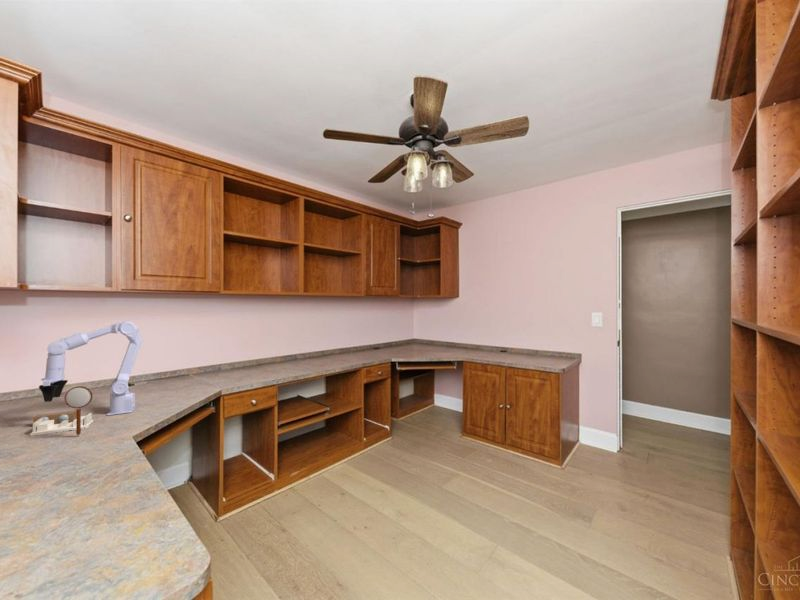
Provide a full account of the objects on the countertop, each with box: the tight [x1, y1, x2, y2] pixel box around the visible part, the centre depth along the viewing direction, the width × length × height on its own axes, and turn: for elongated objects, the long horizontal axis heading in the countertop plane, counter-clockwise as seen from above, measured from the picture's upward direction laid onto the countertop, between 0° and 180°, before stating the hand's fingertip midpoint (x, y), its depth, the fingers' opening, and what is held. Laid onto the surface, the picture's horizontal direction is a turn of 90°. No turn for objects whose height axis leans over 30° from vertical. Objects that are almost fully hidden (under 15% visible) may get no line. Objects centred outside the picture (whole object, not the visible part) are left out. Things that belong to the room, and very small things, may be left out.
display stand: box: [29, 412, 95, 437], centre depth 142 cm, size 17×9×4 cm, turn 117°
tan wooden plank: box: [32, 409, 77, 424], centre depth 148 cm, size 13×4×4 cm, turn 117°
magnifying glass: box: [64, 385, 93, 437], centre depth 134 cm, size 9×2×20 cm, turn 110°
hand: (52, 399), depth 148 cm, fingers open, 7 cm apart
